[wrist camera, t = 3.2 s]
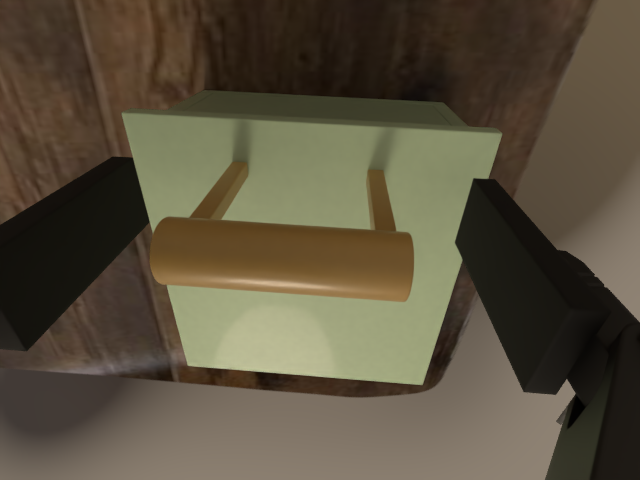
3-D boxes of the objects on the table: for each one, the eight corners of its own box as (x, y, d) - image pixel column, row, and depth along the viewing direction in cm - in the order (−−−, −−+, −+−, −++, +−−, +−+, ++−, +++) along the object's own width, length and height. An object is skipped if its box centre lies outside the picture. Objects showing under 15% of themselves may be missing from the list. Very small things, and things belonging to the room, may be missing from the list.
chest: (203, 89, 23) (135, 126, 16) (443, 102, 23) (490, 146, 15) (228, 275, 32) (192, 355, 24) (403, 288, 31) (420, 374, 24)
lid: (130, 107, 15) (-49, 186, 8) (496, 127, 15) (626, 229, 8) (191, 356, 24) (129, 492, 18) (420, 374, 24) (450, 523, 17)
